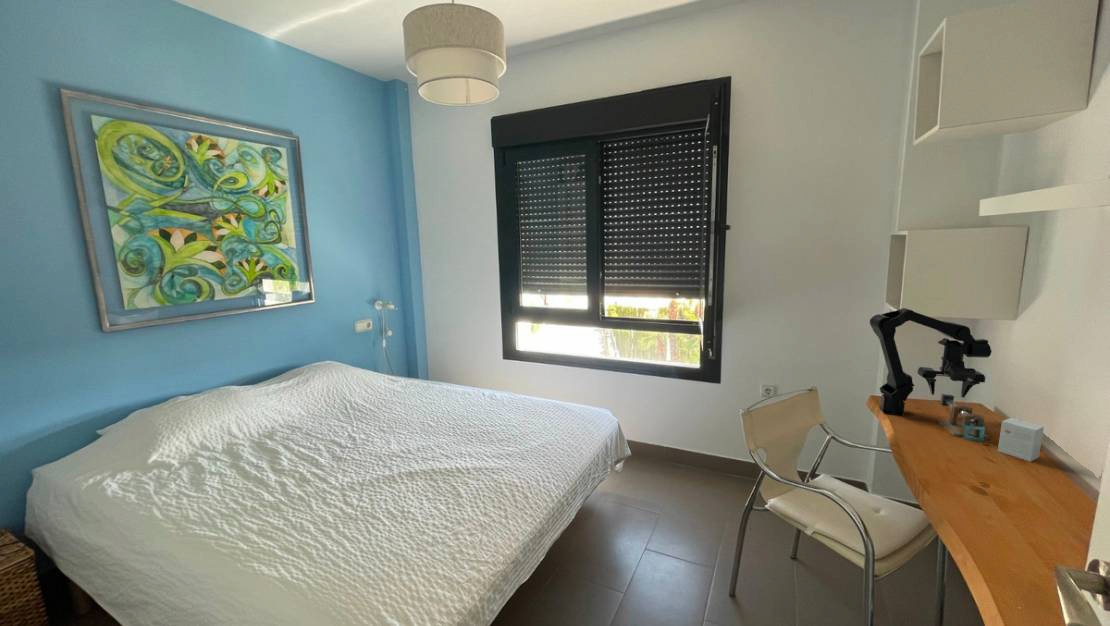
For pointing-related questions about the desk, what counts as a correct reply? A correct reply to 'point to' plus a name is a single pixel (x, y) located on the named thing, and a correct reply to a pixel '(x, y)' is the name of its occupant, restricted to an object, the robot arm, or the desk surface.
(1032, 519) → the desk surface
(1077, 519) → the desk surface
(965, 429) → the teal spacer
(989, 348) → the robot arm
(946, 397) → the steel shaft
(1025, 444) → the small box
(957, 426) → the bearing stand
